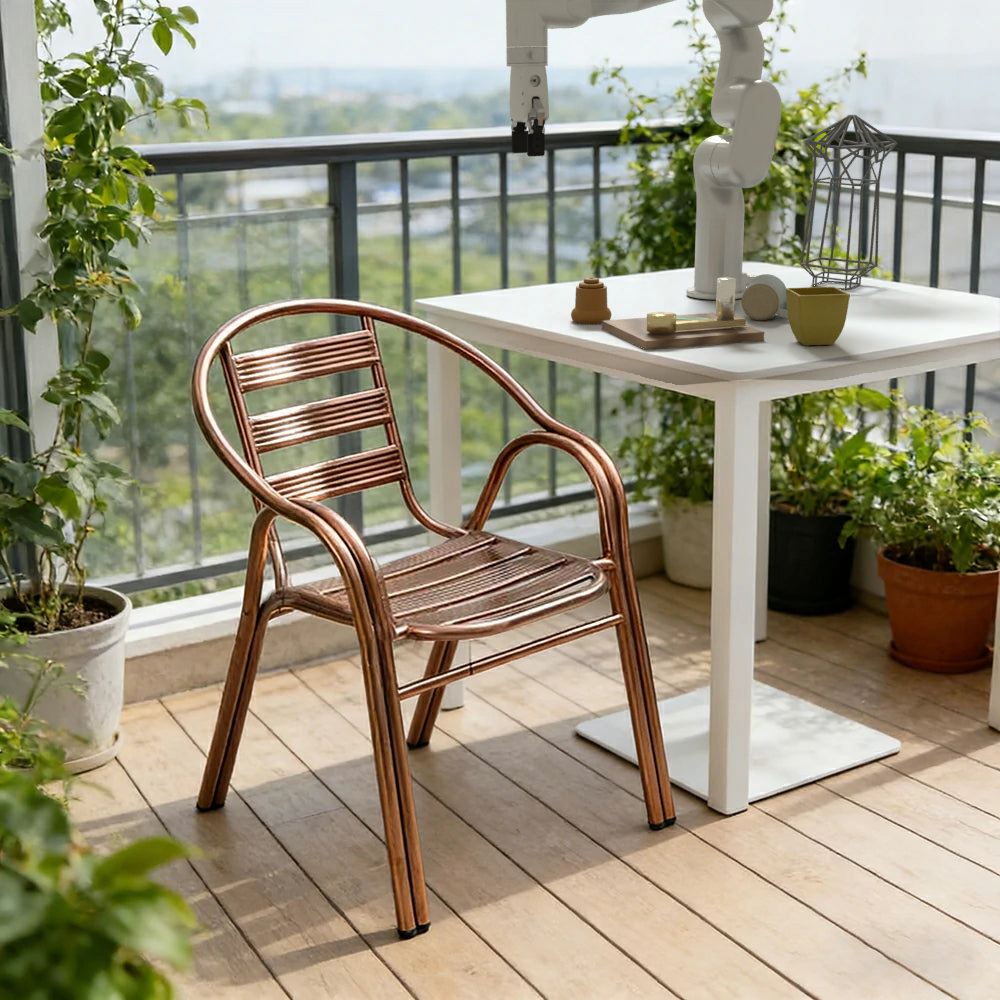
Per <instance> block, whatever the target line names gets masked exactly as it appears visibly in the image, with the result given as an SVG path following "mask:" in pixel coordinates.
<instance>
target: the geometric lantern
mask: <svg viewBox="0 0 1000 1000" xmlns="http://www.w3.org/2000/svg"><path fill="white" fill-rule="evenodd" d="M851 121H852V123H853V129H854V131H855V132H854V133H855V138H856V141H853V140H847V139H845V137H846V134H847V132H848V128H849V126H850V124H851ZM870 129H871V130H870ZM872 131H874V132H875V133H877V134H878V135H880V136H882V137H883V138H884V139H886V140H887V141H881V140H880V139H879V138H878V137H877V136H876V135H875V134H874V133H873V132H872ZM826 132H827V133H826ZM825 133H826V134H825ZM822 134H825V135H823V136H822V137H821V138H820V139H819V140H817V141H815V139H816V138H818V137H819V136H820V135H822ZM840 137H841V138H840ZM860 138H861V140H860ZM833 141H835V142H837V144H838V145H832V144H831V143H832V142H833ZM866 141H867V142H866ZM875 141H876V142H875ZM801 143H802V144H804V145H805V146H806V147H807V148H808V149H809V150H810V152H811V153H812V154H813V167H812V168H813V170H812V171H813V172H812V182H813V183H812V191H811V195H810V202H809V208H808V214H807V220H806V226H805V232H804V238H803V243H802V250H801V255H800V256H801V257H800V262H799V264H800V266H801V267H802V268H803V269H804V270H805V271H806V273H808V274H809V276H811V277H812V282H811V285H810V287H811V286H812V287H824V286H823V285H822V286H821V285H820V284H823V283H822V282H824V283H832V282H834V283H835V284H844V287H837V288H838V289H841V290H842V291H848V290H849V291H850V290H852V289H854V288H857V287H859V286H861V285H862V284H861V282H862V277H864V276H865V275H866V274H867V273H869V272H870V271H872V270H873V269H875V268H878V264H879V263H878V261H879V259H878V258H879V230H880V229H879V227H880V226H879V222H880V220H879V219H880V218H879V217H880V186H881V185H880V184H881V183H880V182H881V181H880V180H881V176H882V175H881V174H882V170H883V163H884V161H885V159H886V158H887V156H889V154H890V153H891V152H892V151H893V149H894V148H895V147H896V146H897V145H898V142H897V141H896V140H894V139H893V138H891V137H890V136H888V135H886V134H885V133H883V132H882V131H880V130H879V129H877V128H876V127H874V126H872V124H870V123H868V122H867V121H866V120H864V119H862V118H861V117H859V116H858V115H857V114H847V115H846V116H844V117H843V118H841V119H840V120H838V121H835V122H834V123H832V124H831V125H829V126H827V127H826V128H824V129H822V130H820V131H818V132H817V133H815V134H814V135H811V136H810V137H807V138H806V139H804V140H803V141H801ZM845 143H846V144H850V145H846V144H845ZM818 145H819V146H820V149H819V148H818V147H817V146H818ZM823 146H824V149H823ZM828 148H830V149H836V150H837V151H836V152H837V158H829V157H828ZM865 148H870V150H869V151H870V152H869V154H868V156H865V155H862V154H861V155H860V151H862V150H864V149H865ZM852 149H854V150H852ZM887 149H888V150H887ZM840 150H846V151H848V152H849V153H847V154H846V155H844V156H842V157H841V156H840V155H841V154H840ZM872 152H873V154H872ZM881 153H882V156H881V158H879V155H880V154H881ZM851 156H853V157H852V158H851V160H850V161H849V163H848V164H847V165H846V166H845V163H844V160H846V159H848V158H850V157H851ZM817 158H819V159H823V161H824V162H825V164H824V165H823V167H822V168H821V171H820V172H819V174H818V176H817V177H816V171H817V169H816V168H817ZM856 158H860V159H865V160H867V161H868V162H869V165H870V166H869V168H868V170H867V171H866V173H865V175H864V177H863V178H853V177H851V176H850V173H849V171H848V169H849V168H850V167H851V165H852V164H853V162H854V161H855V160H856ZM873 158H874V161H873V162H872V161H871V159H873ZM831 162H835V163H836V162H839V163H840V164H841V166H842V169H843V171H842V172H841V173H840V175H839V176H838V177H837V176H836V177H835V176H834V174H833V171H832V170H831V168H830V166H829V164H828V163H831ZM878 163H880V164H879V170H878V174H876V172H875V169H874V165H875V164H878ZM826 167H827V168H828V169H827V170H828V171H829V173H830V175H831V176H827V177H822V178H820V177H821V175H822V173H823V171H824V169H825V168H826ZM871 170H872V174H873V176H874V178H875V179H866V177H868V174H869V172H870V171H871ZM845 174H846V176H847V177H843V176H844V175H845ZM877 175H878V176H877ZM825 180H830V181H825ZM843 180H845V181H849V182H850V183H845V182H842V181H843ZM834 181H838V182H834ZM854 181H857V182H859V181H860V183H854ZM863 182H866V183H863ZM819 183H820V184H829V188H828V194H827V200H826V201H827V202H826V206H825V207H826V209H825V215H824V222H823V226H822V227H823V228H822V234H821V240H820V248H819V253H818V257H816V258H813V259H810V251H811V243H812V231H813V224H814V216H815V207H816V197H817V189H818V184H819ZM833 185H837V187H838V188H837V195H836V196H837V197H836V204H835V215H834V221H833V229H832V231H833V232H832V241H831V246H830V248H831V249H830V255H829V256H830V257H822V256H823V255H822V254H823V249H824V243H825V236H826V229H827V223H828V216H829V210H830V203H831V197H832V190H833ZM870 185H875V187H874V200H873V212H872V223H871V224H872V225H871V234H870V235H871V236H870V245H869V246H870V247H869V248H870V249H869V260H867V261H866V260H861V258H862V257H861V252H862V251H861V250H862V230H863V229H862V228H863V209H864V208H863V206H864V186H870ZM842 186H851V193H850V204H849V205H850V206H849V216H848V217H849V218H848V219H849V220H848V229H847V230H848V231H847V242H846V243H847V244H846V255H845V257H846V258H845V259H844V258H836V257H834V252H835V251H834V250H835V241H836V232H837V225H838V224H837V223H838V215H839V205H840V197H841V191H842V190H841V189H842V188H841V187H842ZM855 187H860V197H859V216H858V217H859V219H858V243H857V244H858V245H857V260H855V259H850V258H849V257H850V251H851V250H850V247H851V235H852V223H853V221H852V220H853V210H854V197H855V195H854V194H855ZM874 238H875V239H874ZM874 240H875V241H874ZM874 242H875V252H874ZM806 246H807V248H806ZM805 251H806V257H805ZM873 252H874V253H875V254H874V255H875V256H874V262H873ZM804 258H805V261H804ZM817 261H818V262H819V265H818V264H811V263H814V262H817ZM822 261H828V265H826V266H825V265H823V262H822ZM832 261H833V262H842V263H845V267H844V268H841V267H834V266H831V262H832ZM849 263H854V264H857V268H849ZM861 264H864V265H865V266H864V267H863V266H862V267H861ZM810 267H811V268H817V269H822V271H821V272H819V273H816V274H815V272H813V270H812V269H811V268H810ZM826 270H827V271H826ZM830 270H831V271H830ZM865 270H866V271H865ZM836 271H837V272H836ZM839 271H840V272H839ZM864 271H865V272H864ZM851 272H854V273H851ZM825 274H827V276H825ZM830 274H831V275H843V276H845V278H844V279H843V278H838V277H830ZM821 275H822V276H821ZM848 276H851V277H850V278H849V279H848ZM818 279H822V280H821V281H819V282H818ZM854 280H855V282H854ZM819 283H820V284H819ZM834 283H833V284H834ZM817 284H818V285H817ZM847 284H849V286H848V285H847ZM814 285H815V286H814ZM852 285H853V286H852Z"/></svg>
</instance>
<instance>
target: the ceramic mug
mask: <svg viewBox="0 0 1000 1000" xmlns="http://www.w3.org/2000/svg"><path fill="white" fill-rule="evenodd" d="M758 275H759V276H757V277H755V278H754V279H753V280H752V281H751V282H750V284H749V285H748V286H747V287H746V289H745V291H744V293H743V295H742V298H741V306H742V310H743V312H744V313H745V314H746V316H747V317H748V318H750V319H752V320H754V321H759V322H760V321H768V320H770V319H772V318H774V317H775V316H776V315H777V316H779V317H781V318H783V319H786V320H788V313H787V301H786V288H787V287H786V285H785V283H784V282H783V281H782V279H781V278H779V277H778V276H776V275H774V274H770V273H766V274H758Z"/></svg>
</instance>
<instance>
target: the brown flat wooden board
mask: <svg viewBox="0 0 1000 1000" xmlns="http://www.w3.org/2000/svg"><path fill="white" fill-rule="evenodd" d="M705 319H716V312H706V313H692V314H678V315H677V314H676V322H678V321H691V320H705ZM601 329H602V330H603V331H605V332H607V333H609V334H611V335H614V336H615V335H616V337H617V338H620V339H622V340H624V341H626V340H627V341H626V342H628V341H629V342H628V343H630V342H631V343H630V344H632V343H633V344H632V345H634V344H635V345H634V346H636V345H637V346H636V347H638V346H640V347H642V348H641V349H643V348H644V349H643V350H645V349H651V350H656V349H655V348H664V349H673V348H684V347H685V348H686V347H687V348H688V347H698V346H701V347H702V346H711V345H724V344H736V343H738V344H739V343H750V342H761V341H762V342H763V341H764V340H765V332H764V331H763V330H760V329H757V328H755V327H752V326H749V325H747V324H746V326H734V327H721V328H708V329H695V330H681V331H676V332H673V333H665V334H658V333H650V332H647V317H638V318H635V317H634V318H622V319H610V320H606V321H602V324H601ZM640 347H639V348H640ZM653 348H654V349H653Z"/></svg>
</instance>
